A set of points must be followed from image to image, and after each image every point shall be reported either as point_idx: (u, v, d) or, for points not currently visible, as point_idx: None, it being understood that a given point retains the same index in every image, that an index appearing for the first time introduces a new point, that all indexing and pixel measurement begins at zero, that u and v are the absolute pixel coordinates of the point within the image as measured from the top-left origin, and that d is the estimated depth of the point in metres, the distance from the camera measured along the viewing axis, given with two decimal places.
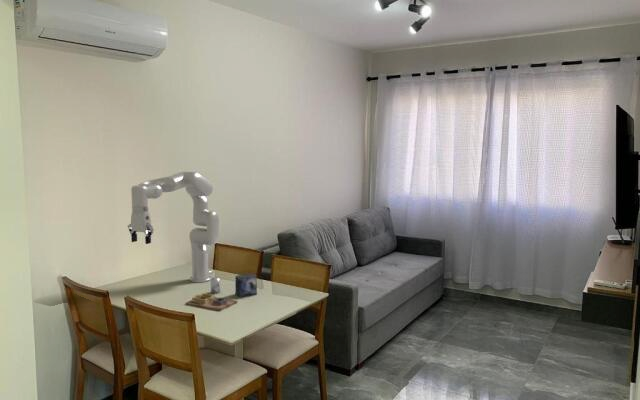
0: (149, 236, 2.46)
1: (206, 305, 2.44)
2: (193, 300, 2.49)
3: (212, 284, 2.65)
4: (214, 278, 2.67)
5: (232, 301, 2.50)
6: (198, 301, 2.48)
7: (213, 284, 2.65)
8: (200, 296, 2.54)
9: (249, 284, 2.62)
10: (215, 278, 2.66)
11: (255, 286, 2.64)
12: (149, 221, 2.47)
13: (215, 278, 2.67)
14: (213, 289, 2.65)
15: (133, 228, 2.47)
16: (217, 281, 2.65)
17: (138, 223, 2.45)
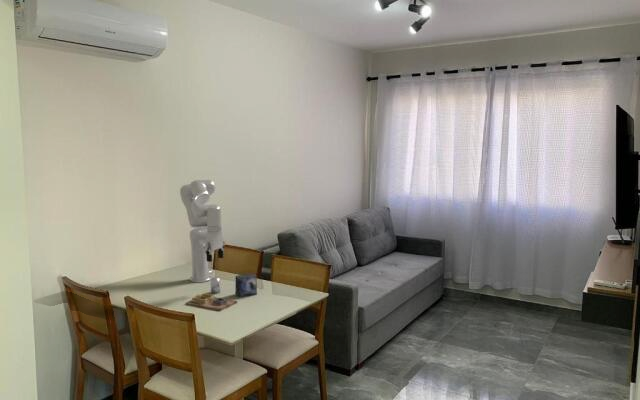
0: None
1: (206, 305, 2.44)
2: (193, 300, 2.49)
3: (212, 284, 2.65)
4: (214, 278, 2.67)
5: (232, 301, 2.50)
6: (198, 301, 2.48)
7: (213, 284, 2.65)
8: (200, 296, 2.54)
9: (249, 284, 2.62)
10: (215, 278, 2.66)
11: (255, 286, 2.64)
12: None
13: (215, 278, 2.67)
14: (213, 289, 2.65)
15: (214, 247, 2.61)
16: (217, 281, 2.65)
17: (219, 241, 2.64)
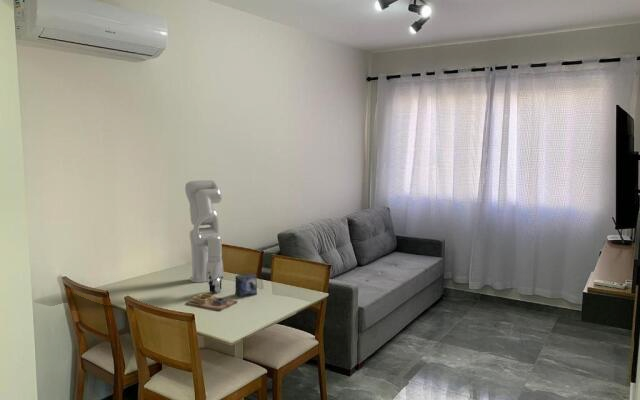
0: None
1: (206, 305, 2.44)
2: (193, 300, 2.49)
3: None
4: None
5: (232, 301, 2.50)
6: (198, 301, 2.48)
7: None
8: (200, 296, 2.54)
9: (249, 284, 2.62)
10: None
11: (255, 286, 2.64)
12: None
13: None
14: None
15: (215, 277, 2.63)
16: (217, 281, 2.65)
17: (219, 270, 2.66)
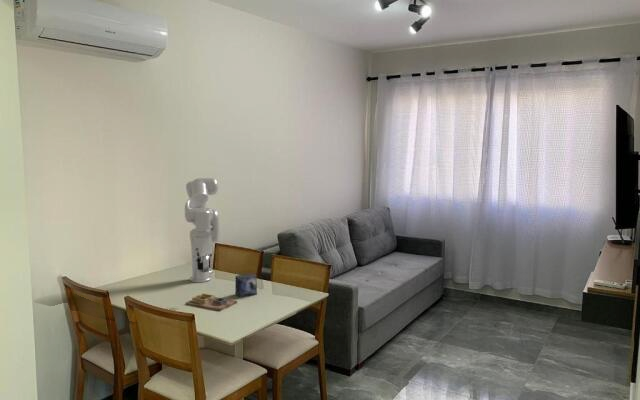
0: None
1: (206, 305, 2.44)
2: (193, 300, 2.49)
3: None
4: None
5: (232, 301, 2.50)
6: (198, 301, 2.48)
7: None
8: (200, 296, 2.54)
9: (249, 284, 2.62)
10: (204, 256, 2.49)
11: (255, 286, 2.64)
12: None
13: (203, 256, 2.49)
14: None
15: (203, 253, 2.46)
16: (206, 258, 2.48)
17: (208, 246, 2.49)
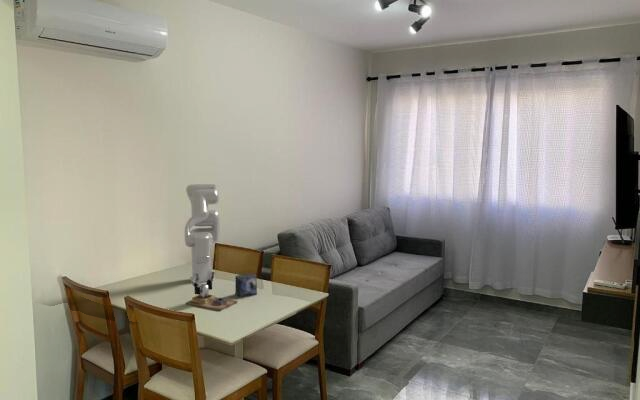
0: None
1: (206, 305, 2.44)
2: (193, 300, 2.49)
3: (200, 291, 2.49)
4: (202, 285, 2.51)
5: (232, 301, 2.50)
6: (198, 301, 2.48)
7: (201, 292, 2.49)
8: None
9: (249, 284, 2.62)
10: (203, 285, 2.50)
11: (255, 286, 2.64)
12: None
13: (203, 285, 2.50)
14: (201, 297, 2.49)
15: (202, 279, 2.47)
16: (205, 288, 2.49)
17: (208, 271, 2.50)
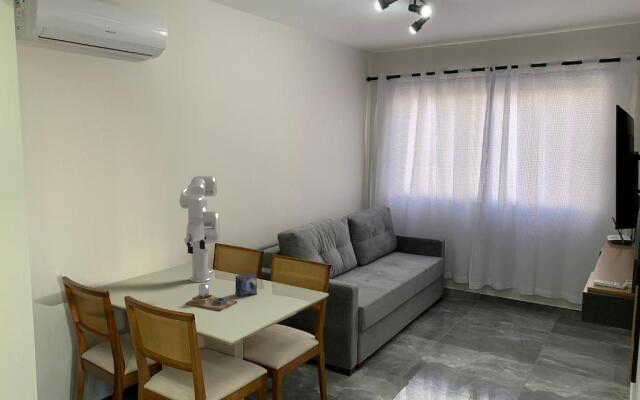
0: None
1: (206, 305, 2.44)
2: (193, 300, 2.49)
3: (200, 291, 2.49)
4: (202, 285, 2.51)
5: (232, 301, 2.50)
6: (198, 301, 2.48)
7: (201, 292, 2.48)
8: None
9: (249, 284, 2.62)
10: (204, 285, 2.50)
11: (255, 286, 2.64)
12: None
13: (203, 285, 2.50)
14: (201, 297, 2.49)
15: (195, 239, 2.56)
16: (205, 288, 2.49)
17: (201, 232, 2.59)
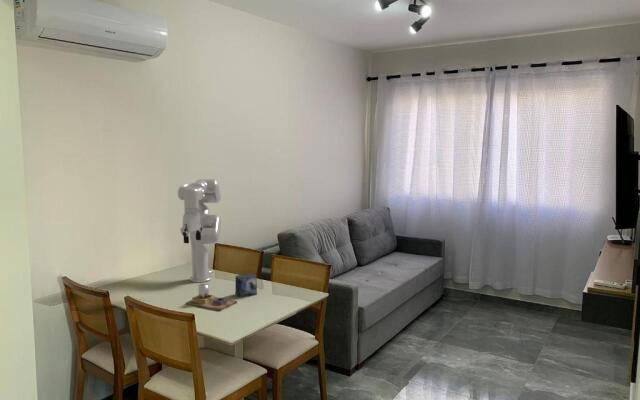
0: None
1: (206, 305, 2.44)
2: (193, 300, 2.49)
3: (200, 291, 2.49)
4: (202, 285, 2.51)
5: (232, 301, 2.50)
6: (198, 301, 2.48)
7: (201, 291, 2.49)
8: None
9: (249, 284, 2.62)
10: (203, 285, 2.50)
11: (255, 286, 2.64)
12: None
13: (203, 285, 2.50)
14: (201, 296, 2.49)
15: (191, 229, 2.62)
16: (205, 288, 2.49)
17: (196, 223, 2.65)
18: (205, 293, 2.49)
